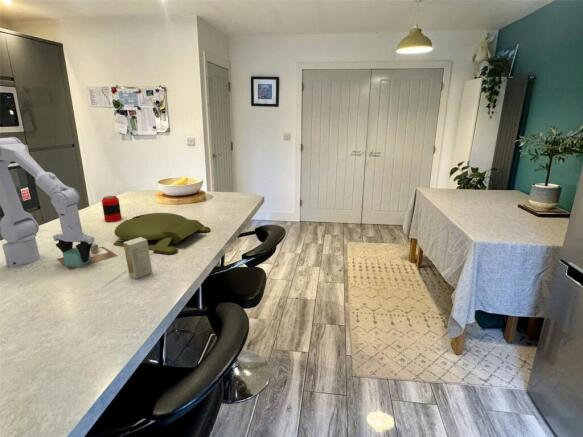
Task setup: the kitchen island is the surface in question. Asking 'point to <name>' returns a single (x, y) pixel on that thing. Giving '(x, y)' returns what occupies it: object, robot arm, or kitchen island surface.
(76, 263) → the knob
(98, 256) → the board
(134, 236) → the green turtle
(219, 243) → the kitchen island surface
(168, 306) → the kitchen island surface
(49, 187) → the robot arm
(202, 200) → the kitchen island surface
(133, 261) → the skincare box
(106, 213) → the soda can
